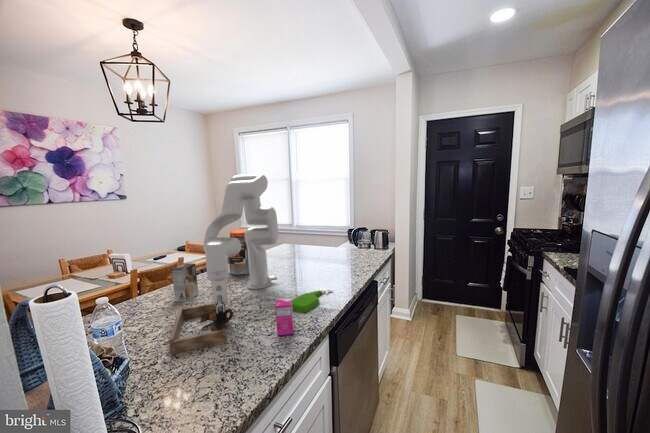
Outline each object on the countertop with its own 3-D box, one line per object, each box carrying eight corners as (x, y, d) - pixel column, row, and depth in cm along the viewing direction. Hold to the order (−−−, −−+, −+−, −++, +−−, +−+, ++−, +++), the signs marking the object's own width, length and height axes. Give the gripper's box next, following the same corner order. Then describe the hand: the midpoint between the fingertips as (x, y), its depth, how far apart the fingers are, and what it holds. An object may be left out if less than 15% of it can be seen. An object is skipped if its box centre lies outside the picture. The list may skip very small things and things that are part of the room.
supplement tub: (224, 274, 166) (220, 232, 163) (241, 266, 180) (238, 228, 177) (245, 276, 160) (241, 233, 157) (261, 268, 174) (258, 229, 171)
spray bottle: (285, 309, 117) (317, 290, 137) (305, 314, 111) (336, 294, 132) (285, 302, 117) (317, 284, 137) (305, 307, 111) (335, 288, 131)
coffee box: (187, 293, 138) (184, 262, 136) (198, 294, 137) (195, 263, 135) (174, 301, 129) (170, 268, 127) (186, 301, 128) (182, 268, 126)
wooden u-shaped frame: (225, 309, 118) (224, 298, 117) (227, 341, 93) (225, 327, 93) (180, 318, 112) (179, 306, 111) (170, 354, 87) (168, 340, 87)
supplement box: (278, 328, 101) (276, 298, 99) (294, 327, 101) (292, 297, 100) (276, 336, 95) (274, 305, 94) (293, 335, 95) (291, 304, 94)
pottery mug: (203, 338, 97) (196, 316, 98) (207, 337, 105) (200, 317, 107) (236, 322, 101) (229, 301, 103) (237, 322, 110) (230, 303, 111)
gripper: (229, 279, 96) (232, 325, 98) (227, 266, 112) (230, 306, 114) (206, 282, 93) (210, 329, 95) (208, 269, 109) (211, 309, 111)
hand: (221, 316), depth 104 cm, fingers open, 9 cm apart
